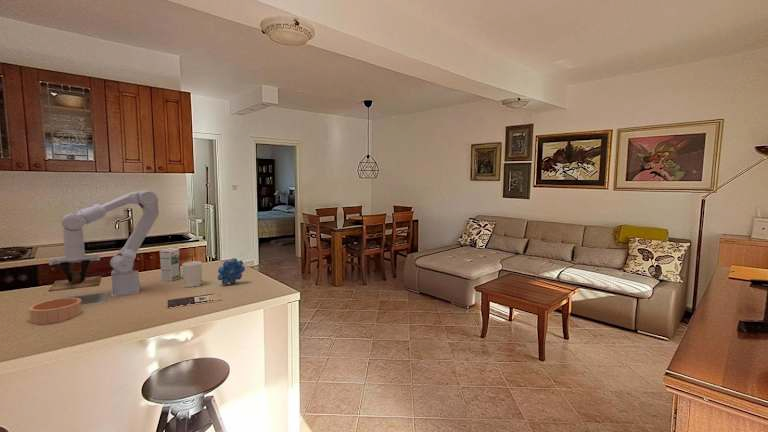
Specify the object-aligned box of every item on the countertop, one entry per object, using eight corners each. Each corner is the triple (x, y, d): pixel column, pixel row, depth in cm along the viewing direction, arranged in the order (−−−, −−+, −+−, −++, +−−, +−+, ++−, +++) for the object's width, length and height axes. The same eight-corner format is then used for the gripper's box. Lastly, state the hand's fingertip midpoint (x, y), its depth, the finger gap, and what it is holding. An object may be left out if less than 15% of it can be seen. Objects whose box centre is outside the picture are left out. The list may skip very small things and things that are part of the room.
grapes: (243, 280, 168) (242, 255, 167) (246, 283, 162) (245, 258, 161) (216, 283, 162) (215, 257, 161) (218, 287, 156) (217, 260, 155)
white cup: (189, 288, 154) (188, 266, 153) (179, 285, 158) (178, 263, 157) (206, 284, 161) (205, 262, 160) (196, 281, 165) (195, 260, 164)
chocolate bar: (167, 300, 137) (218, 292, 147) (167, 302, 138) (218, 295, 147) (168, 307, 130) (221, 299, 139) (168, 309, 130) (221, 301, 139)
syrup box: (171, 281, 165) (170, 250, 163) (160, 280, 166) (159, 249, 165) (181, 278, 170) (179, 248, 169) (170, 277, 172) (169, 247, 170)
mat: (107, 291, 148) (107, 291, 148) (104, 303, 134) (104, 302, 134) (52, 299, 138) (52, 298, 138) (43, 312, 124) (43, 311, 124)
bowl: (83, 307, 130) (83, 295, 129) (79, 318, 119) (78, 305, 119) (34, 314, 122) (33, 301, 122) (25, 327, 112) (24, 313, 111)
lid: (101, 277, 145) (101, 266, 145) (99, 285, 134) (98, 273, 133) (55, 282, 137) (54, 270, 136) (48, 291, 126) (47, 279, 125)
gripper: (46, 249, 126) (48, 286, 128) (98, 245, 135) (100, 280, 136) (49, 246, 132) (52, 281, 133) (99, 242, 141) (101, 276, 142)
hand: (76, 280), depth 135 cm, fingers closed on lid, 3 cm apart
